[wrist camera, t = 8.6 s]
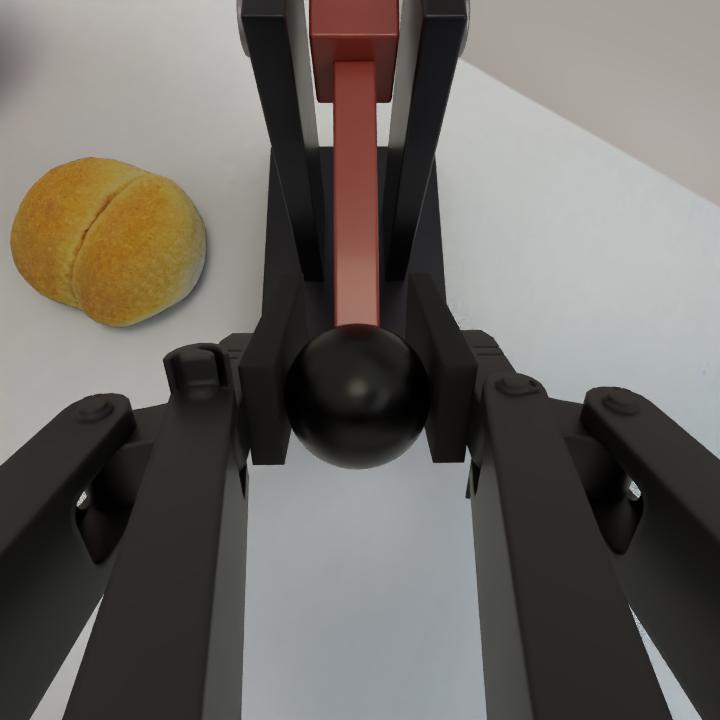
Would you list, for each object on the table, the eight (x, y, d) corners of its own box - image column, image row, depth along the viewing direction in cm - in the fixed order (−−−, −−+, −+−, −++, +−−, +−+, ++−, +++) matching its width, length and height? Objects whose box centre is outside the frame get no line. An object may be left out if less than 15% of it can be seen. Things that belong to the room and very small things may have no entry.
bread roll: (161, 353, 22) (119, 324, 18) (14, 283, 23) (-56, 241, 19) (243, 223, 24) (221, 172, 20) (105, 164, 25) (60, 104, 21)
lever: (420, 458, 13) (446, 480, 9) (294, 459, 12) (271, 483, 9) (410, 33, 14) (430, -96, 10) (296, 33, 14) (275, -97, 10)
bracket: (445, 361, 22) (588, 160, 8) (264, 363, 22) (121, 161, 8) (431, 161, 25) (516, -204, 12) (274, 161, 25) (184, -208, 12)
